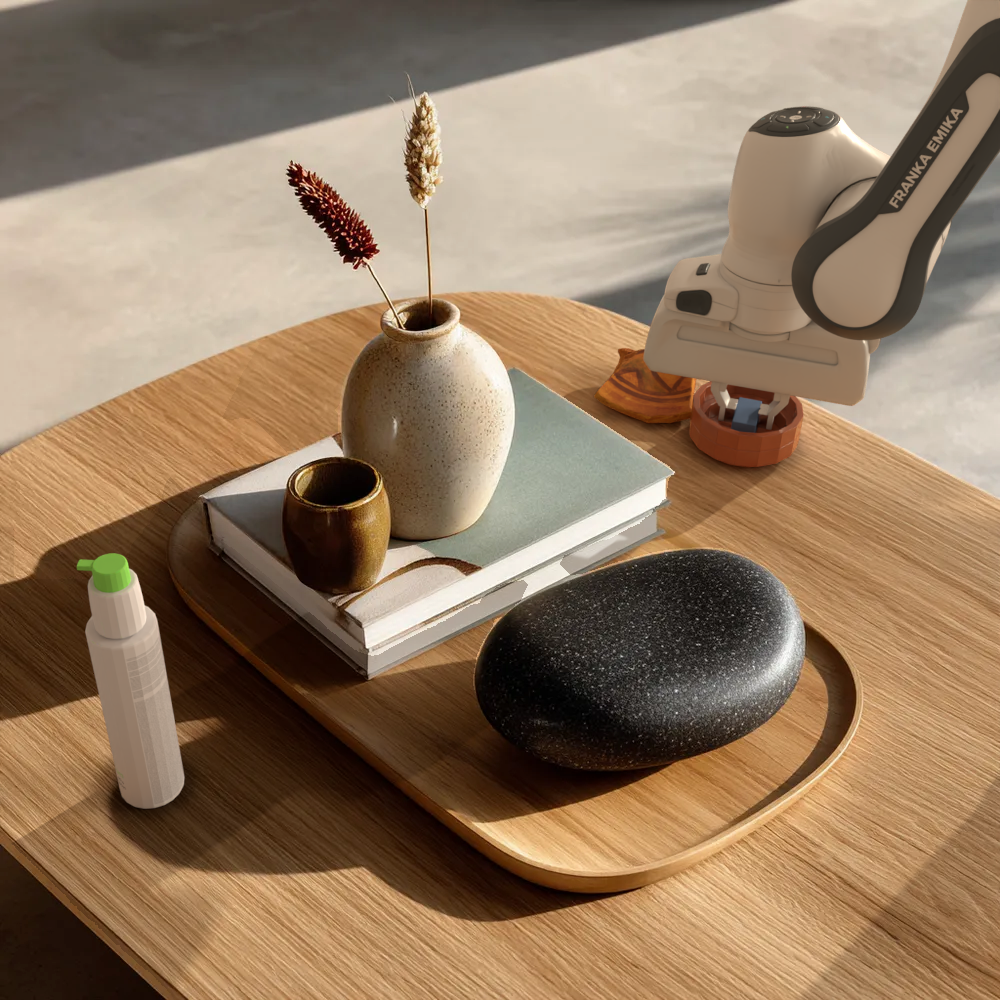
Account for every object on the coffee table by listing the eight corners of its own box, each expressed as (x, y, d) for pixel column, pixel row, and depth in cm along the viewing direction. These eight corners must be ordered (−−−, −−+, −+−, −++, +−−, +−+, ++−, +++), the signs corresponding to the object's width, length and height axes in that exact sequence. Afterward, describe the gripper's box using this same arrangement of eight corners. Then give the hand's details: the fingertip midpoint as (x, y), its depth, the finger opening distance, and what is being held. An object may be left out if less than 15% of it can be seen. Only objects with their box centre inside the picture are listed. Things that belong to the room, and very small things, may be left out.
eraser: (735, 422, 128) (739, 396, 127) (757, 427, 128) (762, 401, 126) (727, 447, 125) (732, 421, 123) (751, 452, 125) (755, 425, 123)
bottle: (144, 752, 94) (100, 533, 82) (197, 772, 93) (160, 552, 81) (107, 797, 91) (56, 575, 79) (161, 817, 90) (118, 595, 78)
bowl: (739, 399, 133) (744, 365, 131) (818, 446, 127) (825, 411, 124) (666, 434, 128) (670, 399, 125) (745, 484, 122) (751, 449, 119)
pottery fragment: (703, 348, 135) (699, 385, 126) (699, 390, 137) (695, 429, 128) (604, 339, 136) (593, 375, 127) (601, 381, 138) (591, 419, 129)
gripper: (889, 294, 117) (860, 424, 126) (661, 258, 122) (647, 386, 130) (885, 328, 113) (854, 461, 121) (647, 289, 117) (633, 420, 125)
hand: (745, 422), depth 126 cm, fingers closed on eraser, 2 cm apart
